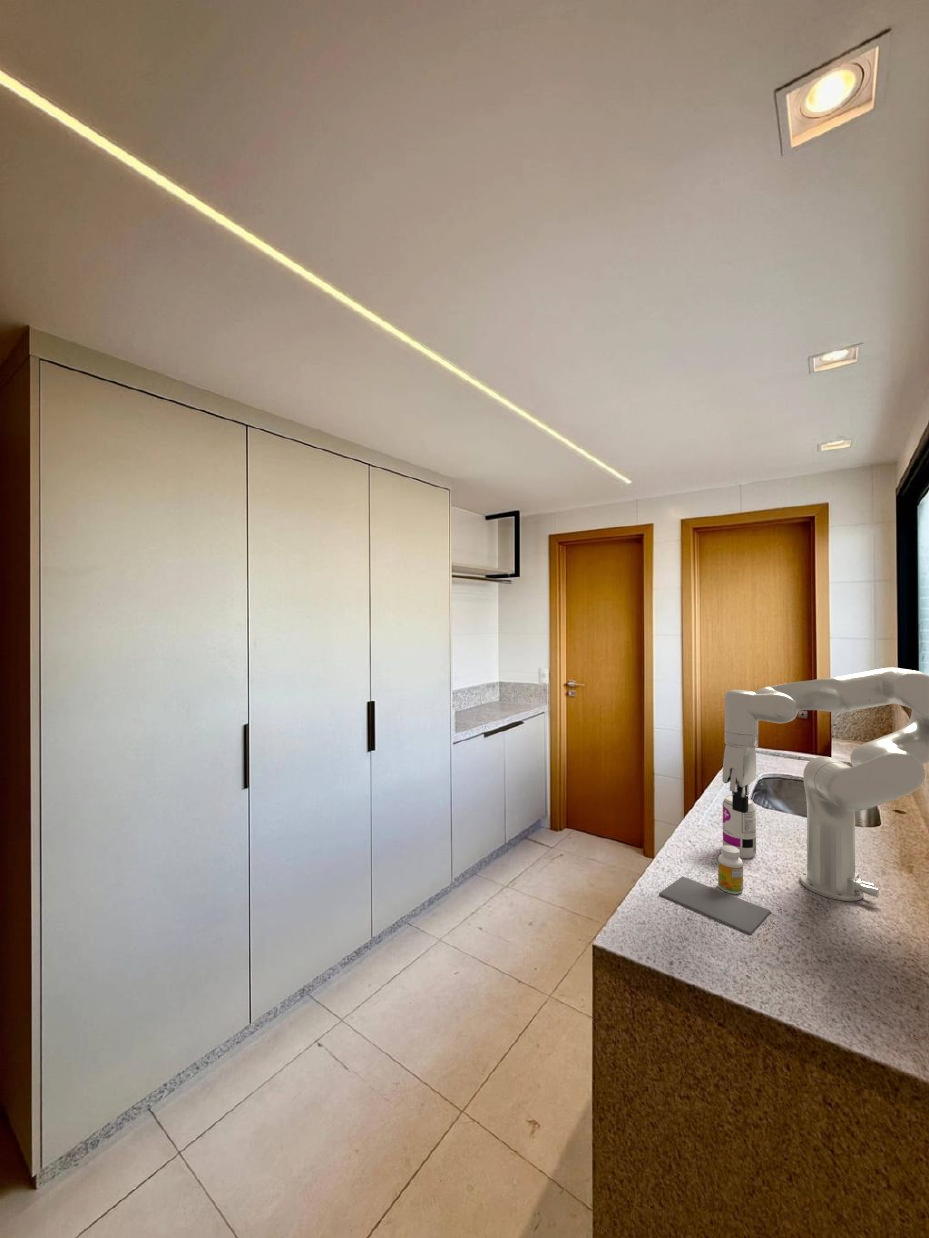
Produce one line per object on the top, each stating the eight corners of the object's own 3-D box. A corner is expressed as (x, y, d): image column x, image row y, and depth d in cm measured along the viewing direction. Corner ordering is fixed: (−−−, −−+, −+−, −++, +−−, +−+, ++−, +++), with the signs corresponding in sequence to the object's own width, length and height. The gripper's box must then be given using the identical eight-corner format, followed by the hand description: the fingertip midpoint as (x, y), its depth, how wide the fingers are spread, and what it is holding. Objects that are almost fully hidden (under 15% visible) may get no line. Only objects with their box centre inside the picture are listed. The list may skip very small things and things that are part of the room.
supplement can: (724, 856, 138) (724, 802, 138) (721, 844, 145) (721, 792, 145) (758, 861, 135) (758, 806, 135) (753, 848, 142) (753, 796, 142)
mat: (770, 912, 111) (770, 910, 111) (750, 935, 103) (750, 932, 103) (682, 878, 126) (682, 876, 126) (659, 895, 118) (659, 892, 118)
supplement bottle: (713, 883, 124) (713, 844, 124) (734, 882, 124) (733, 843, 124) (726, 895, 118) (726, 854, 118) (748, 894, 119) (748, 853, 119)
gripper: (736, 732, 134) (736, 800, 134) (713, 740, 124) (712, 813, 124) (767, 737, 128) (766, 808, 128) (745, 746, 118) (744, 823, 118)
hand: (740, 810), depth 126 cm, fingers closed
